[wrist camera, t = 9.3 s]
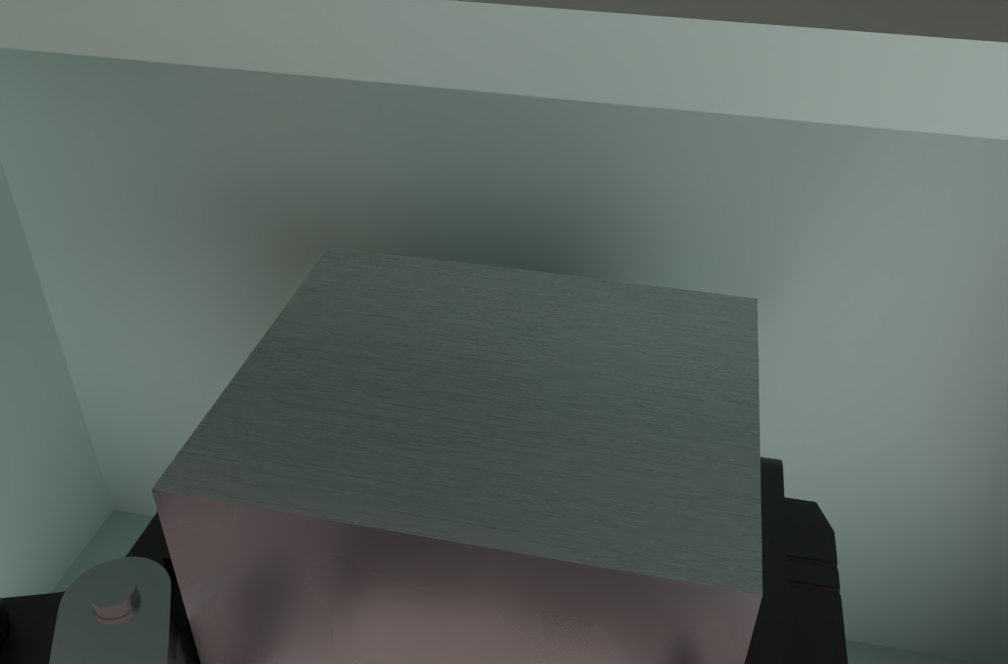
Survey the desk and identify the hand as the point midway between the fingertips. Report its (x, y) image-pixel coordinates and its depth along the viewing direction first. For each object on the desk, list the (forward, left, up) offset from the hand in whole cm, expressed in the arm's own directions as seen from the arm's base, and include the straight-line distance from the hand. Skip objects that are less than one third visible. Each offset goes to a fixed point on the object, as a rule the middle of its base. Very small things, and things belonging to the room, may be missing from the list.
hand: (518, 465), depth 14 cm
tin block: (0, 0, -1) cm, 1 cm away
